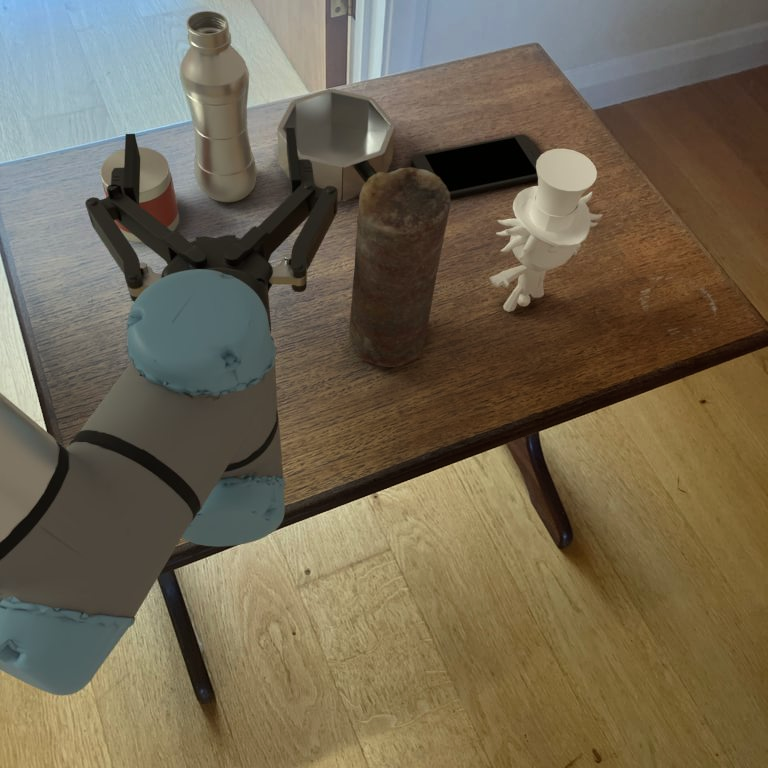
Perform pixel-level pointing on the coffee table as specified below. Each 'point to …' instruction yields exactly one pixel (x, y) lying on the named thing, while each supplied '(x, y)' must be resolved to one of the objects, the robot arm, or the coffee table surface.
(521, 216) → the figurine
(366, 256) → the candle
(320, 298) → the coffee table surface
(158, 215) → the tin can
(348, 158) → the saucepan
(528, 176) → the smartphone
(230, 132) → the metal bottle
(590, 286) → the coffee table surface
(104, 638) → the robot arm
